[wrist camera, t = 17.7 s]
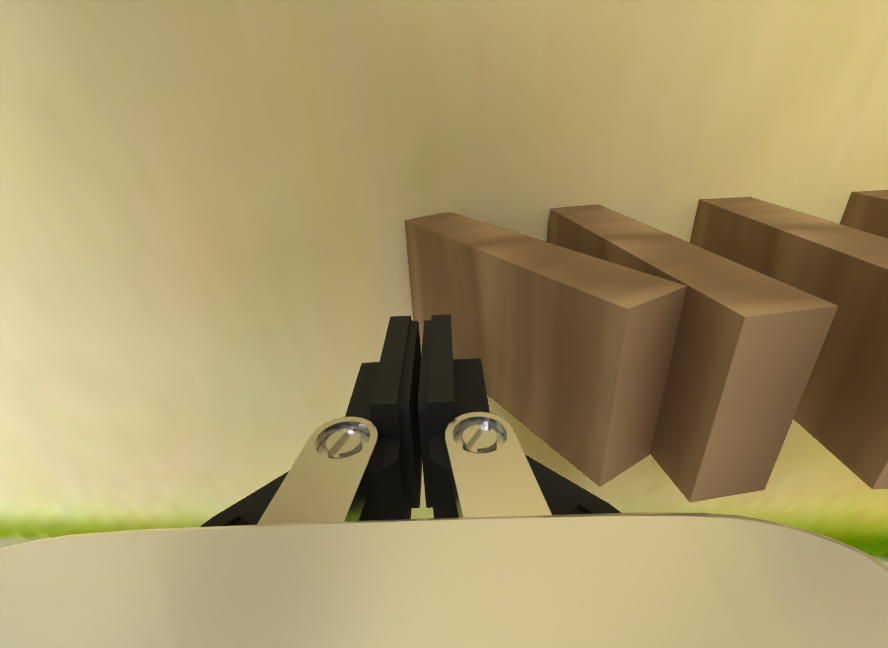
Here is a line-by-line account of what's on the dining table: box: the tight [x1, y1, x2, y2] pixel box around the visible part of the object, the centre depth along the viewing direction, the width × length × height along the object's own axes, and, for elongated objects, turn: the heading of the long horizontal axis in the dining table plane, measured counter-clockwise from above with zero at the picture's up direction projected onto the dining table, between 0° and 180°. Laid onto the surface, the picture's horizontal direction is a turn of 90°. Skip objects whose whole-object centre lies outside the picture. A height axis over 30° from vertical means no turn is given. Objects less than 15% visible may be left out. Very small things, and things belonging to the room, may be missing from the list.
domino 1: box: [405, 212, 687, 486], centre depth 14 cm, size 2×5×10 cm
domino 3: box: [690, 197, 888, 489], centre depth 14 cm, size 2×5×10 cm, turn 3°
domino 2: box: [548, 205, 838, 502], centre depth 14 cm, size 2×5×10 cm, turn 3°
